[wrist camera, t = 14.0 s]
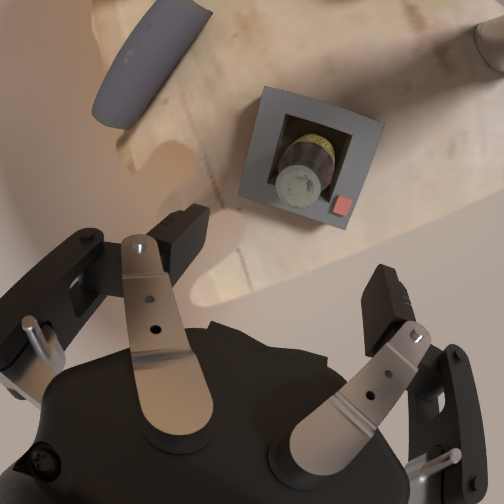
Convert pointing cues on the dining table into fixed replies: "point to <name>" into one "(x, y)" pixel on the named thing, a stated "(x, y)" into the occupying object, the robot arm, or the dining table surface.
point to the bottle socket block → (348, 168)
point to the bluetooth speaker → (147, 60)
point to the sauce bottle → (305, 171)
